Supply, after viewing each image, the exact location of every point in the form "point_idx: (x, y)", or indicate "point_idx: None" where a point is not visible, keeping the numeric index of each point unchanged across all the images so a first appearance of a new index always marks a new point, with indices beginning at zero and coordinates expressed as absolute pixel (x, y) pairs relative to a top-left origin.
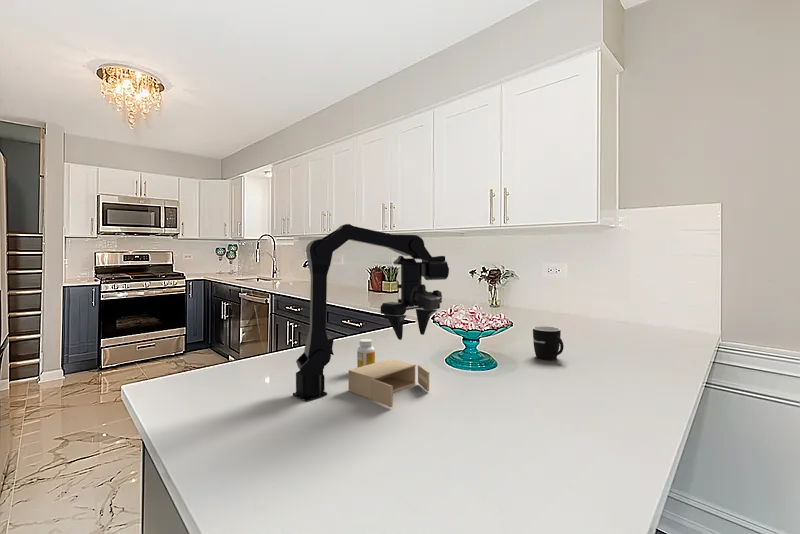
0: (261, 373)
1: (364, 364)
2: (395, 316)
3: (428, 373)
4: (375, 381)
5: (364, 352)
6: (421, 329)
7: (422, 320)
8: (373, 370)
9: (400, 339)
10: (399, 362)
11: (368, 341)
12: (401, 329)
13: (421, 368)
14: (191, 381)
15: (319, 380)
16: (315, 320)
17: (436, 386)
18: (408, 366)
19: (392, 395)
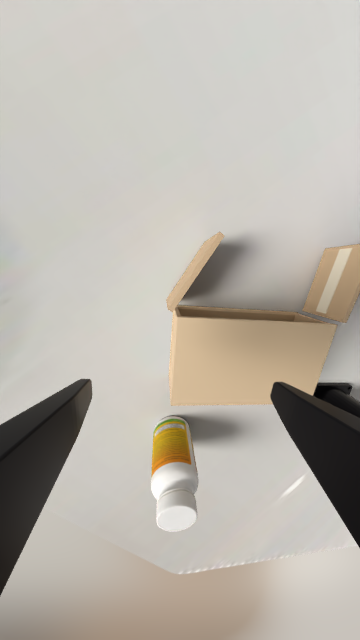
0: (275, 510)
1: (190, 439)
2: None
3: (220, 234)
4: (351, 305)
5: (194, 469)
6: (76, 416)
7: (6, 506)
8: (287, 363)
9: (282, 383)
10: (188, 365)
11: (185, 506)
12: (352, 420)
13: (191, 283)
14: (339, 525)
15: (352, 407)
16: None
17: (153, 256)
18: (206, 321)
19: (351, 245)
